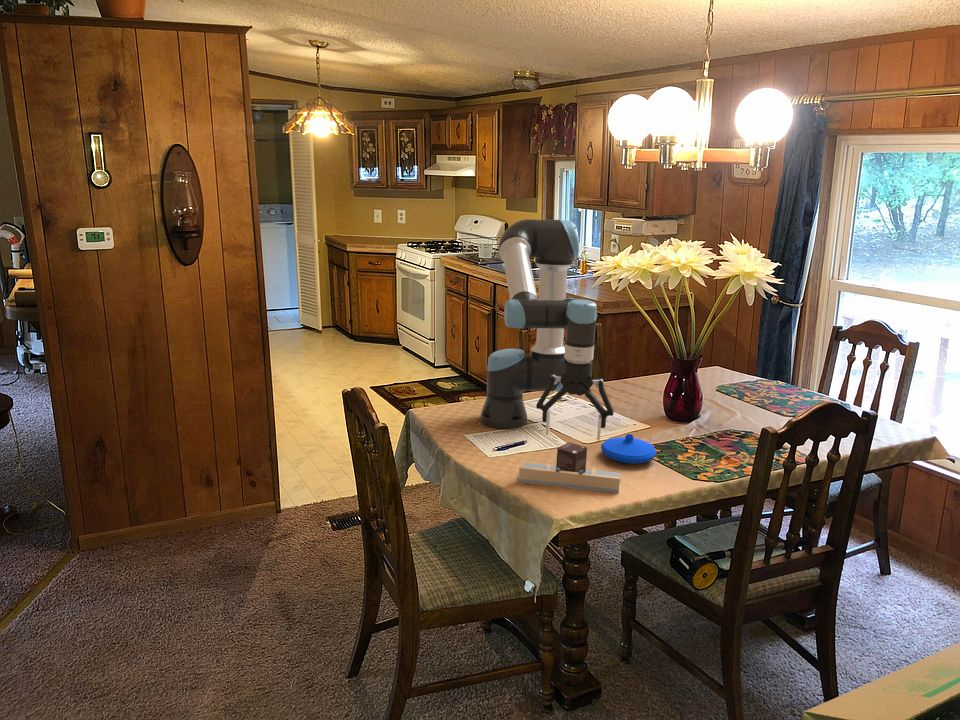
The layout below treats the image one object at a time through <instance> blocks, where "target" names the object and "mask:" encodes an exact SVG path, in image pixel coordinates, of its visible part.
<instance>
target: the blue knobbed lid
mask: <svg viewBox="0 0 960 720" xmlns="http://www.w3.org/2000/svg"><path fill="white" fill-rule="evenodd" d="M600 450H601V453H602V454H603V455H604V456H606V457H607V458H608V459H611V460H613V461H616V462H619V463H622V464H623V463H624V464H630V465H631V464H633V465H634V464H635V465H636V464H637V465H638V464H642V463H647V462H649V461H651V460H653V459H655V456H656V455H657V449H656V448H655V446H654V445H653V444H651V442H648V441H645V440H642V439H639V438H635V437H634V435H633V434H631V433H630V434H629V433H627V434H625V437H624V436H623V437H622V436H619V437H611V438H608V439H606V440H605V441H603V442H602V443H601V445H600Z"/></svg>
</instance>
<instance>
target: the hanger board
mask: <svg viewBox="0 0 960 720" xmlns="http://www.w3.org/2000/svg"><path fill="white" fill-rule="evenodd" d="M518 471H519V472H518V483H524V484H525V483H526V484H532V485H534V484H535V485H540V486H541V485H542V486H548V487H549V486H552V487H560V488H569V489H576V490H577V489H578V490H586V491H597V492H605V493H613V494H619V492H620V482H621V480H620V479H621V477H620V476H621V473H620V472H616V471H615V472H614V471H605V470H597V468H591V469H587V468H586V472H584V473H583V471H582V470H579V473H578V472H569V471H560V468H556V465H552V464H550V463H547V464H539V463H531V462H530V463H528V462H525V463H524V464H523V466H522V465H521V466H519V470H518Z"/></svg>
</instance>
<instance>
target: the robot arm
mask: <svg viewBox="0 0 960 720" xmlns="http://www.w3.org/2000/svg"><path fill="white" fill-rule="evenodd" d="M579 240H580V239H579V233H578V228H577V226H576V225H575V223H574V222H573V221H571V220H564V219H526V218H525V219H521V220H518V221H516V222H514V223H512V224H511V225H510V226H508V227H507V229H506V230H505V231H504V232H503V233H502V235H501V237H500V239H499V242H498V254H499V258H500V259H501V261H502V262H503V263H504V271H505V277H506V283H507V288H508V289H507V290H508V295H509V299H508V300H506V301H505V302H504V309H503V310H504V311H503V312H504V313H503V315H504V318H503V319H504V324H505V326H506V327H508V328H513V329H519V330H520V329H521V330H522V329H536V342H535V344H534V346H532V347H531V349H530V354H526V353H525V350H523V349H520V348H505V349H498V350H496V351H494V352H491V353H490V355H489V356H488V359H487V367H486V370H487V378H486V379H487V380H486V397H485V400H484V403H483V406H482V408H481V411H480V419H479V420H480V422H481V423H482V424H483V425H484V426H487V427H491V428H495V429H496V428H497V429H516V428H521V427H523V426H525V425H526V424H527V423H528V413H527V410H526V407H525V404H524V400H523V397H524V395H523V394H524V392H527V391H528V392H533V391H534V392H543V393H542V394H541V396H540V398H539V400H538V401H537V403H536V406H535V407H536V409H539V410H541V412H542V416H541V417H542V418H541V419H542V420H541V422H542V423H545V436H549V435H550V430H551V428H550V427H551V414H552V413H551V412H552V409H551V407H552V406H553V405H555V403H557V402H558V401H559V400H560V399H561V398H562V397H563V396H564V395H566V394H569V395H572V396H574V395H577V396H583V395H584V396H585V397H586V398H587V399H588V400H589V401H590V403H591V405H593V407H594V408H595V410H596V411H597V412H598V421H597V422H598V423H597V433H596V441H598V442H600V439H601V431H602V429H605V428H606V423H607V417H609V416H610V417H612V416H614V412H615V410H614V408H613V405H612V402H611V400H610V398H609V396H608V393H607V391H606V389H605V386H604V384H605V383H604V378H599V379H593V364H594V363H593V360H594V352H595V339H596V338H595V337H596V327H597V324H596V323H597V318H598V313H597V312H598V311H597V308H598V307H597V304H596V302H595V301H592V300H589V299H584V298H583V299H579V298H577V299H576V298H574V297H567V280H568V279H567V278H568V270H569V269H570V268H571V267H572V266H573V260H577V259H578V258H579V255H580V241H579ZM530 259H534V264H535V266H537V267H538V269H539V277H538V278H539V279H538V293H537V289H536V284H535V279H534V275H533V274H534V273H533V268H532V264H531V261H530ZM564 335H565V337H564ZM564 339H565V340H564ZM593 385H594V386H595V388H596V389H598V391H599V395H600V397H601V399H602V402H603V404H604V406H605V408H606V409H605V408H604V406H603V405H602V404H601V402H600V401H599V400H598V398H597V397H596V395H594V393H593V391H592V389H591V387H592V386H593ZM555 391H557V392H556V393H555V394H554V395H553V396H552V397H551V398H550V399H549V400H548V401H547V402H546V403H544V402H545V401H546V399H547V398H548V396H549V394H550V393H551V392H555Z"/></svg>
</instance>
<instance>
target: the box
mask: <svg viewBox="0 0 960 720" xmlns="http://www.w3.org/2000/svg"><path fill="white" fill-rule="evenodd" d="M556 450H557V451H556V465H555V466H556V468H560V471H569V472H578V473H579V470H582V471H583V473H584V472H586V469H587V455H588V447H587V446H584V445H582V444H581V445H579V444H576V443H575V442H571V441H568V442H566V443H565V444H562V445H561V446H558V447H557V449H556Z"/></svg>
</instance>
